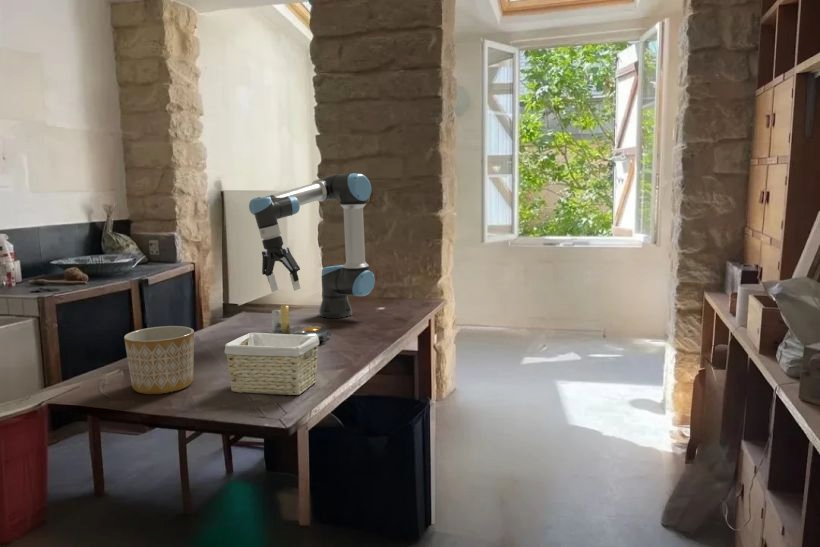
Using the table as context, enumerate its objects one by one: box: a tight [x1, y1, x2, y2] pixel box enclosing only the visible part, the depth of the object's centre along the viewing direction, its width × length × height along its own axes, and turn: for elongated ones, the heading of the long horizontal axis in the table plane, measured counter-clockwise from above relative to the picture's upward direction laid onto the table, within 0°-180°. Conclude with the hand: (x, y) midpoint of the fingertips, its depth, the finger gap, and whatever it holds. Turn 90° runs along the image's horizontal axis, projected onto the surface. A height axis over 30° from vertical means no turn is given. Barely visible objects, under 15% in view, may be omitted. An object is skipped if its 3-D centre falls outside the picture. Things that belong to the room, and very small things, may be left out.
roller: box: [271, 309, 282, 334], centre depth 251 cm, size 4×4×10 cm
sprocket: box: [275, 304, 332, 342], centre depth 240 cm, size 23×23×14 cm
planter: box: [123, 325, 195, 395], centre depth 187 cm, size 19×19×16 cm
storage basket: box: [224, 332, 320, 396], centre depth 185 cm, size 24×16×15 cm
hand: (286, 290), depth 242 cm, fingers open, 13 cm apart
